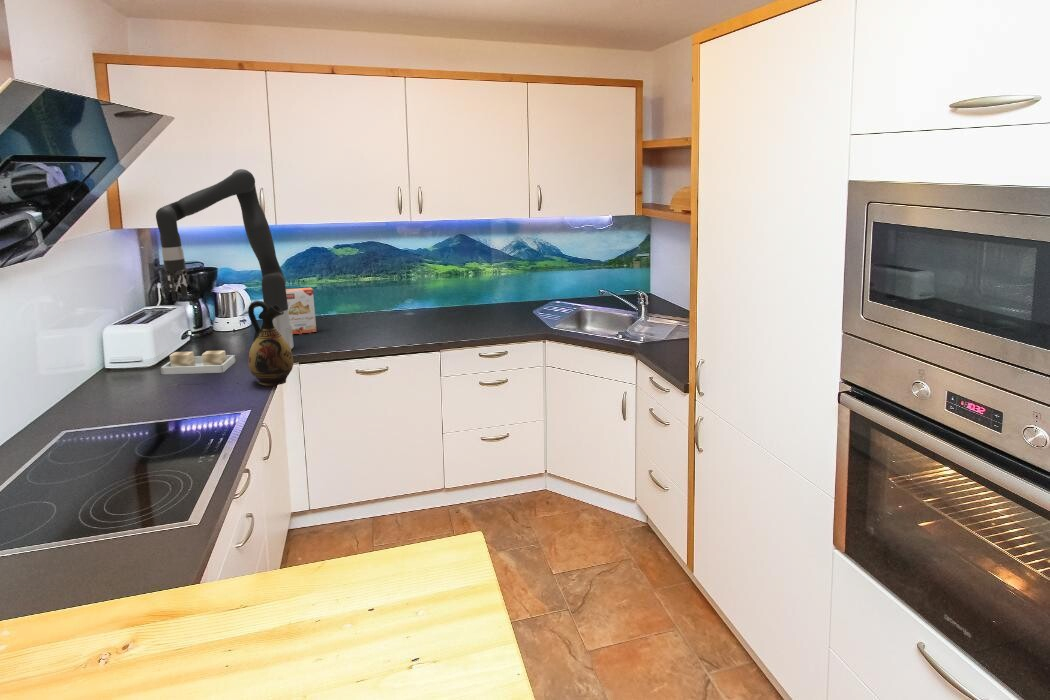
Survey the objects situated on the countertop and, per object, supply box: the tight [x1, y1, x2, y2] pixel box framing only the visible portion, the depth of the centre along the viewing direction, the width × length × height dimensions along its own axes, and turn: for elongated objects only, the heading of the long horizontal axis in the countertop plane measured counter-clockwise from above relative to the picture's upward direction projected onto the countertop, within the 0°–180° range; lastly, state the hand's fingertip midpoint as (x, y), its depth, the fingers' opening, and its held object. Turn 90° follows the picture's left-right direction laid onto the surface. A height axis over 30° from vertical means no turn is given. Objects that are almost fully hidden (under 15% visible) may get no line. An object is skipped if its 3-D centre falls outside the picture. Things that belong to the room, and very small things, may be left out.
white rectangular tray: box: [160, 354, 237, 376], centre depth 269 cm, size 23×15×4 cm, turn 95°
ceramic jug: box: [247, 300, 294, 387], centre depth 250 cm, size 17×15×30 cm
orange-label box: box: [201, 350, 227, 366], centre depth 269 cm, size 7×5×6 cm
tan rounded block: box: [169, 351, 195, 367], centre depth 268 cm, size 7×5×6 cm
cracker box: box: [286, 287, 317, 336], centre depth 322 cm, size 14×6×21 cm, turn 114°
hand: (180, 298), depth 278 cm, fingers open, 8 cm apart
